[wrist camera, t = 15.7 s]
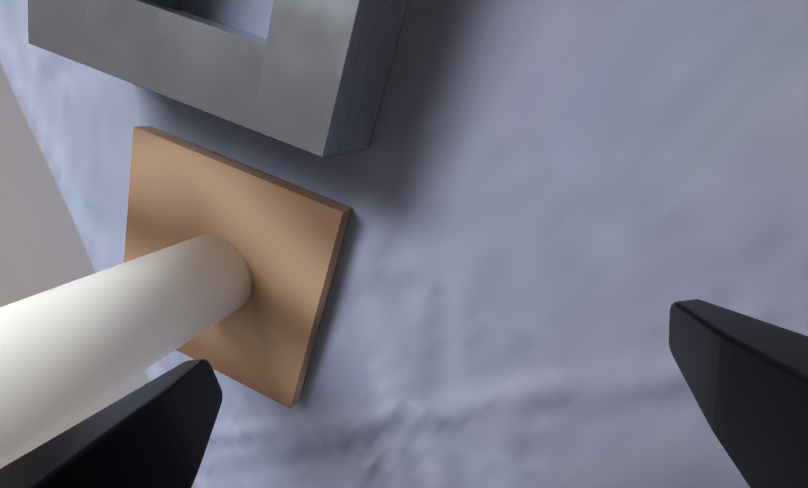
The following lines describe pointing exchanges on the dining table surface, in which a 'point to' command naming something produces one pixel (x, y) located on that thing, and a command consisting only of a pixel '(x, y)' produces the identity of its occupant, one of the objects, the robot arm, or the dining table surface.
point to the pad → (258, 243)
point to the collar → (242, 61)
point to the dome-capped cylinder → (109, 331)
